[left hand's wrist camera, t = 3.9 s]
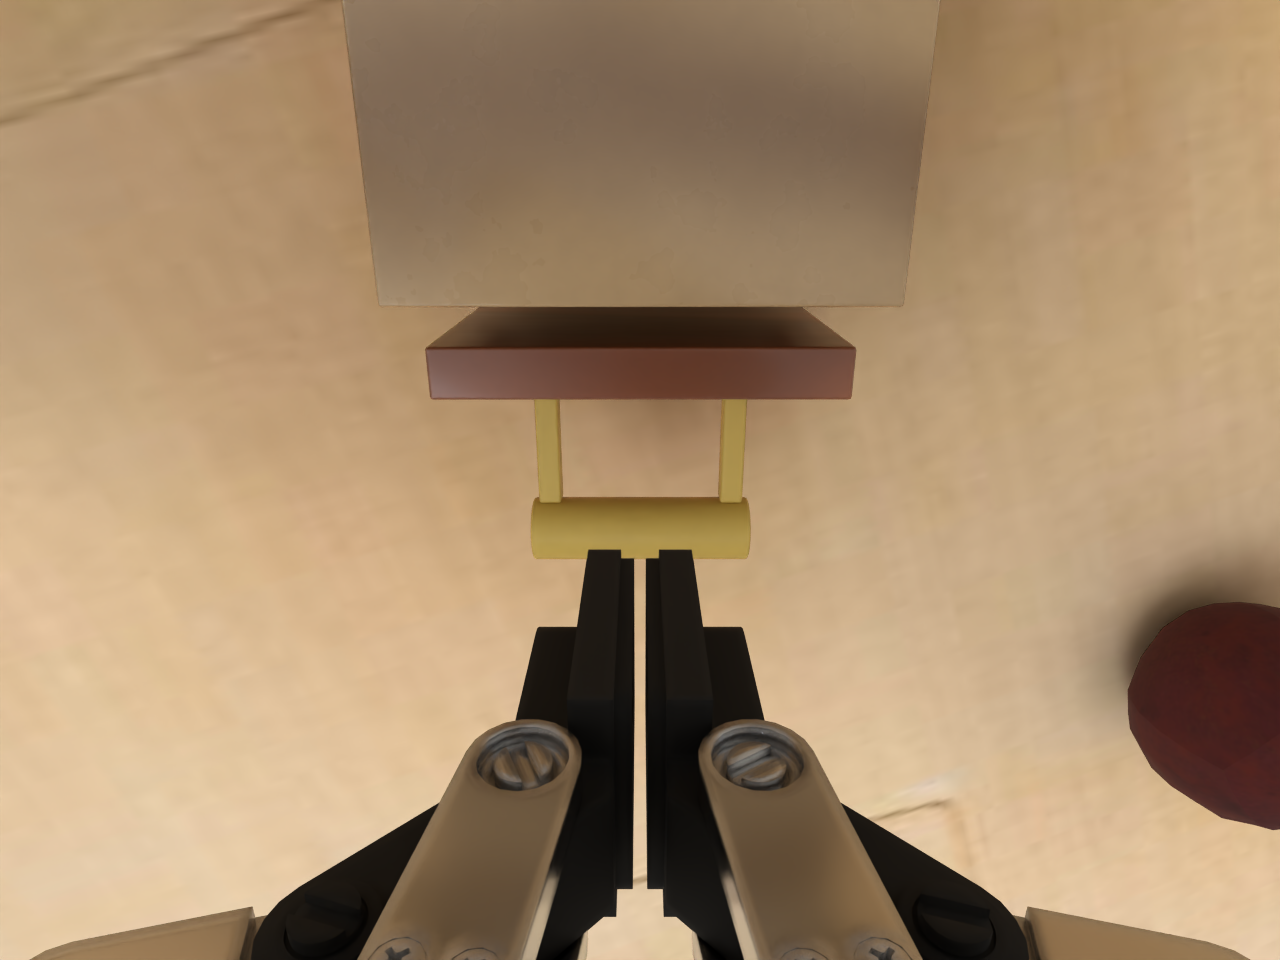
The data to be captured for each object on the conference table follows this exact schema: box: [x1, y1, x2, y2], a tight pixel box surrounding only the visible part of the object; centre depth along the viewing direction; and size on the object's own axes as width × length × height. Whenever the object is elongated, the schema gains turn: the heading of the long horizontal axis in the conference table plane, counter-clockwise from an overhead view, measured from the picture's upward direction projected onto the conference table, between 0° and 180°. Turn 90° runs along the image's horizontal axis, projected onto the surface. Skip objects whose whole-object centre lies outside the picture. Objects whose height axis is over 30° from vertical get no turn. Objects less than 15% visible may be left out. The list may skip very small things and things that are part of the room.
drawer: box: [425, 307, 856, 559], centre depth 19 cm, size 23×10×8 cm, turn 0°
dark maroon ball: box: [1128, 602, 1280, 830], centre depth 27 cm, size 7×8×7 cm
